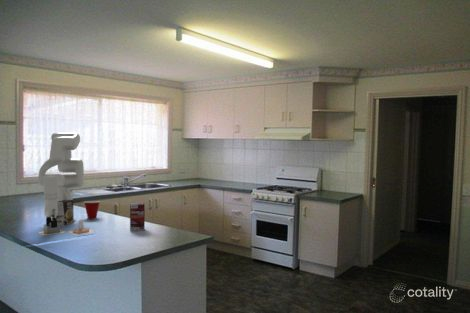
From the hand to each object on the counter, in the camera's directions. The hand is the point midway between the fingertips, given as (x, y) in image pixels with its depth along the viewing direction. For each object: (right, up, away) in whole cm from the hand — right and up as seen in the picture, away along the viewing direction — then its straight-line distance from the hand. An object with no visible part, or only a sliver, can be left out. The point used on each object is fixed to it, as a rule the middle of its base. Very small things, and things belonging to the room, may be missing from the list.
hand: (51, 226), depth 213 cm
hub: (+16, -5, +2) cm, 17 cm away
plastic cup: (+5, -3, +48) cm, 48 cm away
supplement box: (+47, -5, +11) cm, 48 cm away
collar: (0, -4, +1) cm, 4 cm away
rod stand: (0, -5, +1) cm, 5 cm away
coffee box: (-3, -4, +24) cm, 24 cm away
